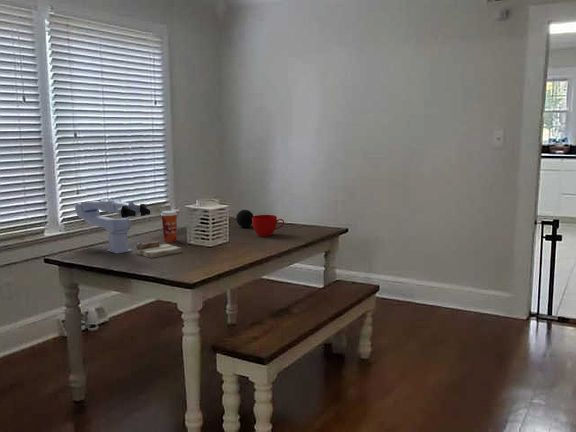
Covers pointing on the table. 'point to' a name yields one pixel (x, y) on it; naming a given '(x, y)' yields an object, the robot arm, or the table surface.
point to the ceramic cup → (265, 224)
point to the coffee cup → (169, 225)
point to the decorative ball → (244, 218)
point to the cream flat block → (159, 250)
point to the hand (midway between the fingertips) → (142, 213)
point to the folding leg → (147, 245)
